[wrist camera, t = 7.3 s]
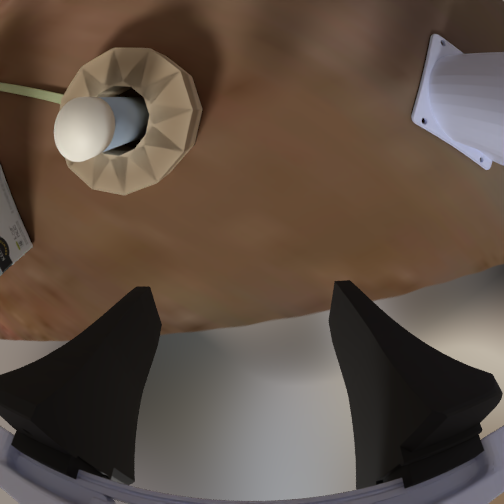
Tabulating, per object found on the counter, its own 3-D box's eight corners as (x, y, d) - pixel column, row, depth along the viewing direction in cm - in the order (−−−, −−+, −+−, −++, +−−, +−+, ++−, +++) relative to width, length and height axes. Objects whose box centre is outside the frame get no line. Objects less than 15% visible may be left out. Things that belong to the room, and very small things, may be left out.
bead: (215, 62, 14) (207, 53, 12) (185, 190, 19) (174, 206, 16) (94, 54, 13) (71, 50, 11) (77, 170, 18) (54, 182, 15)
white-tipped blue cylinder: (152, 142, 17) (101, 164, 11) (113, 138, 17) (52, 159, 10) (159, 98, 15) (109, 97, 9) (118, 95, 15) (57, 98, 9)
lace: (79, 98, 15) (76, 98, 14) (76, 106, 15) (73, 107, 15) (-15, 80, 12) (-17, 81, 12) (-16, 87, 12) (-19, 87, 12)
